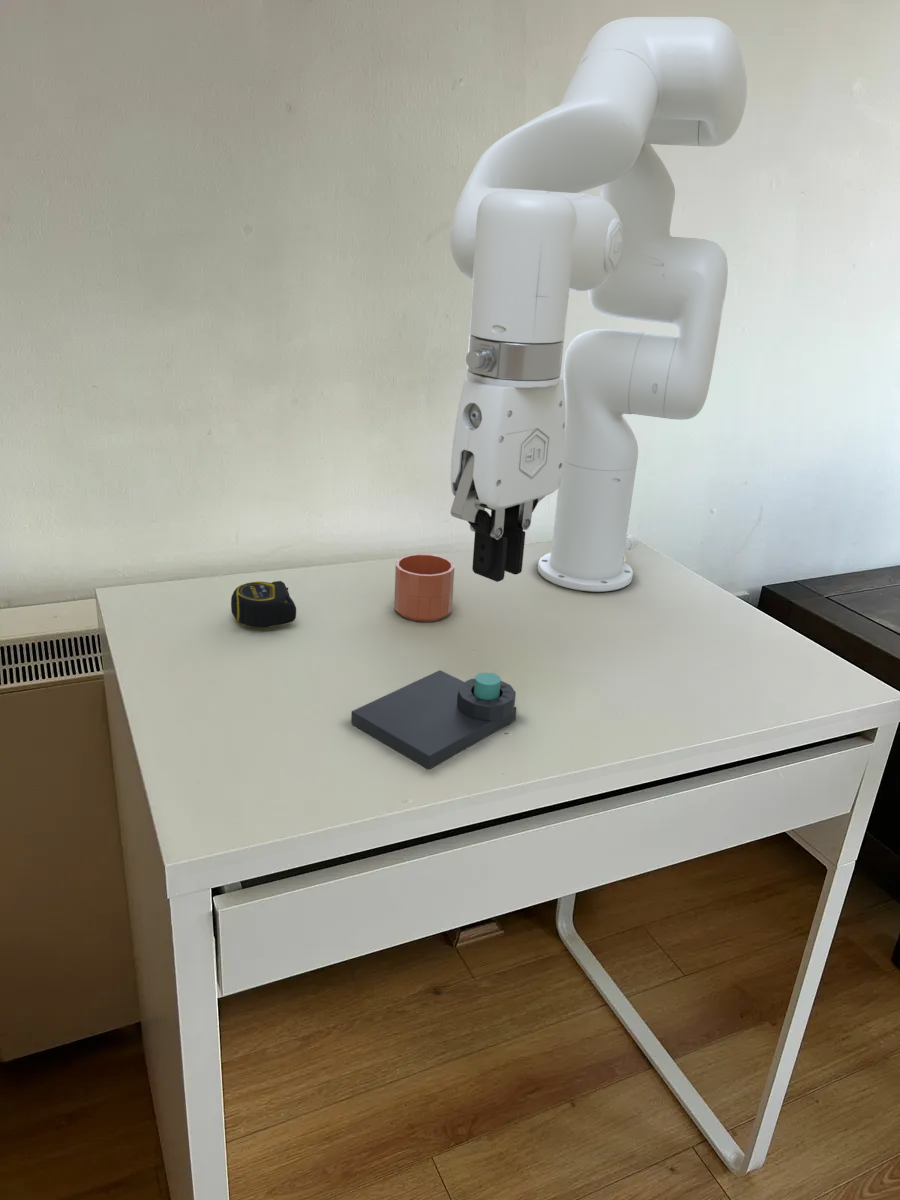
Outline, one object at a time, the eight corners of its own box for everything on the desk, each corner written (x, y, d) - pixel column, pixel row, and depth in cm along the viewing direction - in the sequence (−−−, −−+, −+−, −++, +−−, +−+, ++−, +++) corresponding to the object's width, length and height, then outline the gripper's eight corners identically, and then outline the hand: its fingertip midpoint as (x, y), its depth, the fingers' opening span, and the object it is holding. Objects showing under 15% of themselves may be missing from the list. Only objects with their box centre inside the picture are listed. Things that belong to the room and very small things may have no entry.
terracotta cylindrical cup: (422, 594, 111) (424, 549, 109) (463, 612, 107) (466, 565, 105) (382, 609, 107) (383, 562, 104) (423, 628, 103) (425, 580, 100)
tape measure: (297, 631, 100) (297, 600, 99) (235, 636, 98) (233, 605, 97) (288, 606, 106) (288, 576, 105) (229, 610, 104) (227, 580, 103)
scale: (443, 679, 92) (445, 653, 91) (523, 719, 86) (526, 692, 85) (350, 724, 83) (351, 696, 82) (432, 772, 77) (434, 742, 76)
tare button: (485, 685, 86) (486, 669, 85) (504, 695, 85) (506, 678, 84) (468, 694, 84) (469, 677, 84) (488, 704, 83) (489, 687, 82)
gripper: (486, 378, 64) (469, 611, 72) (608, 360, 75) (582, 564, 83) (412, 361, 69) (403, 582, 76) (537, 347, 80) (518, 541, 87)
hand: (496, 571), depth 80 cm, fingers closed
